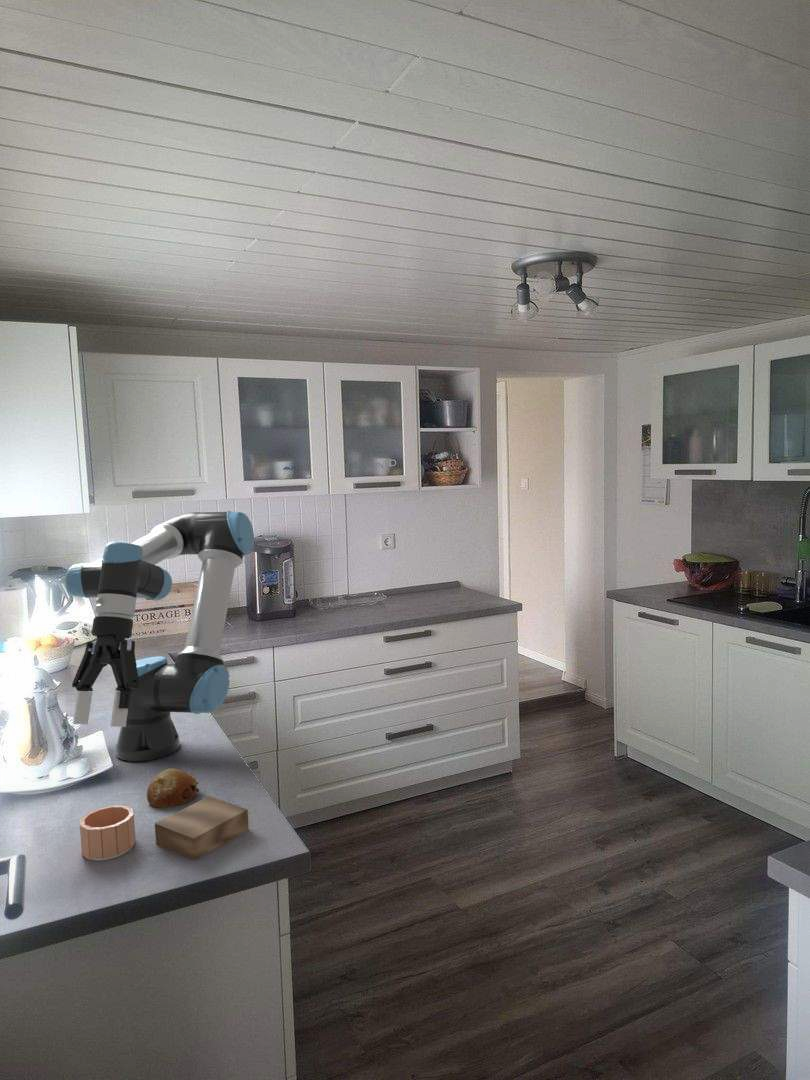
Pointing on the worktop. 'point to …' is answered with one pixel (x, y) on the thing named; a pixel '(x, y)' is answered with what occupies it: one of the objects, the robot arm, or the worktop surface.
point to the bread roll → (171, 789)
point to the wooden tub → (107, 832)
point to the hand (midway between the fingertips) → (98, 725)
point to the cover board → (201, 827)
